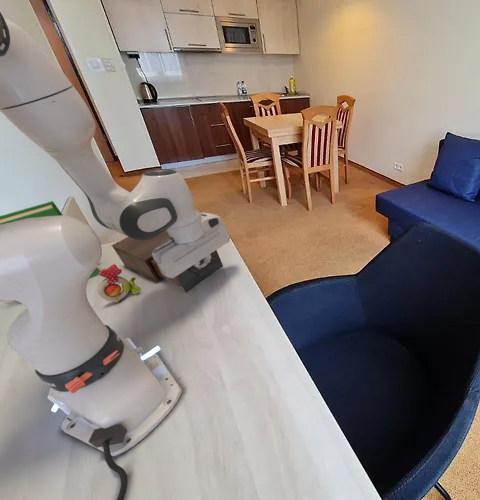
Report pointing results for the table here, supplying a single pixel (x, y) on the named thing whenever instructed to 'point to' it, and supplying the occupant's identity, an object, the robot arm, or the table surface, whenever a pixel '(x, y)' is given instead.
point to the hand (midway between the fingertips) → (205, 270)
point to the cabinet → (140, 254)
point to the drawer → (192, 273)
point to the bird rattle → (115, 285)
